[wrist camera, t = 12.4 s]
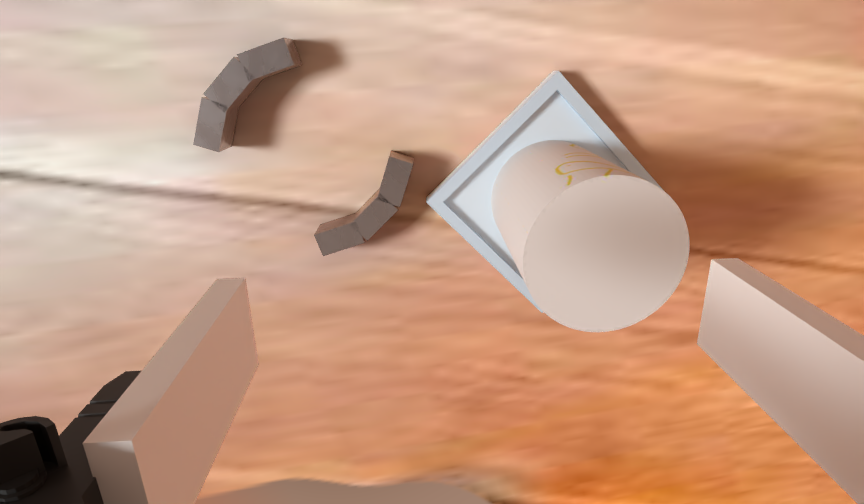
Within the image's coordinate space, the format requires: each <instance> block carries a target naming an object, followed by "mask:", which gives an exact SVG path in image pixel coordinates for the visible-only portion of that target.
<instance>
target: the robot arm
mask: <svg viewBox="0 0 864 504" xmlns="http://www.w3.org/2000/svg"><path fill="white" fill-rule="evenodd" d="M697 345H698V346H700V347H701V348H702V349H703V350H704V351H705V352H706V353H707V354H708V355H709V356H710V357H711V358H712V359H713V360H714V361H715V362H716V363H717V364H718V365H719V366H720V367H721V368H722V369H723V370H724V371H725V372H726V373H727V374H728V375H729V376H730V377H731V378H732V379H733V380H734V381H735V382H736V383H737V384H738V385H739V386H740V387H741V388H742V389H743V390H744V391H745V392H746V393H747V394H748V395H749V396H750V397H751V398H752V399H753V400H754V401H755V402H756V403H757V404H758V405H759V406H760V407H761V408H762V409H763V410H764V411H765V412H766V413H767V414H768V415H769V416H770V417H771V418H772V419H773V420H774V421H775V422H776V423H777V424H778V425H779V426H780V427H781V428H782V429H783V430H784V431H785V432H786V433H787V434H788V435H789V436H790V437H791V438H792V439H793V440H794V441H795V442H796V443H797V444H798V445H799V446H800V447H801V448H802V449H803V450H804V451H805V452H806V453H807V454H808V455H809V456H810V457H811V458H812V459H813V460H814V461H815V462H816V463H817V464H818V465H819V466H820V467H821V468H822V469H823V470H824V471H825V472H826V473H827V474H828V475H829V476H830V477H831V478H832V479H833V480H834V481H835V482H836V483H837V484H838V485H839V486H840V487H841V488H842V489H843V490H844V491H845V492H846V493H847V494H848V495H849V496H850V497H851V498H852V499H853V500H855V501H856V502H857V503H858V504H864V336H863V335H862V334H860V333H858V332H857V331H855V330H854V329H852V328H850V327H849V326H847V325H845V324H844V323H842V322H841V321H839V320H837V319H836V318H834V317H832V316H831V315H829V314H828V313H826V312H824V311H823V310H821V309H819V308H818V307H816V306H815V305H813V304H811V303H810V302H808V301H807V300H805V299H803V298H802V297H800V296H798V295H797V294H795V293H794V292H792V291H790V290H789V289H787V288H785V287H784V286H782V285H781V284H779V283H777V282H776V281H774V280H772V279H771V278H769V277H768V276H766V275H764V274H763V273H761V272H759V271H758V270H756V269H755V268H753V267H751V266H750V265H748V264H746V263H745V262H743V261H742V260H740V259H738V258H728V259H711V265H710V271H709V277H708V282H707V288H706V294H705V300H704V306H703V312H702V318H701V323H700V329H699V335H698V341H697ZM258 365H259V362H258V356H257V350H256V343H255V337H254V330H253V324H252V317H251V311H250V305H249V298H248V292H247V285H246V279H245V278H224V279H217V280H216V281H215V282H214V283H213V284H212V286H211V287H210V288H209V289H208V291H207V292H206V293H205V294H204V295H203V297H202V298H201V299H200V300H199V302H198V303H197V304H196V305H195V306H194V308H193V309H192V310H191V311H190V312H189V314H188V315H187V316H186V317H185V319H184V320H183V321H182V322H181V323H180V325H179V326H178V327H177V328H176V330H175V331H174V332H173V333H172V334H171V336H170V337H169V338H168V339H167V341H166V342H165V343H164V344H163V345H162V347H161V348H160V349H159V350H158V352H157V353H156V354H155V355H154V356H153V358H152V359H151V360H150V361H149V363H148V364H147V365H146V366H145V367H144V369H143V370H142V371H127V372H124V373H123V374H121V375H120V376H118V377H117V378H115V379H114V380H112V381H110V382H109V383H107V384H106V385H104V386H103V387H102V389H101V390H100V391H99V392H98V393H97V394H96V395H95V396H94V398H93V399H92V400H91V401H90V404H87V405H86V406H85V408H84V409H83V410H82V411H81V412H80V413H79V414H78V415H79V416H78V418H75V419H74V420H73V421H72V422H71V423H70V424H69V425H68V427H67V428H66V429H65V430H64V431H63V432H62V433H61V434H60V436H59V435H58V432H57V429H56V426H55V424H54V423H53V422H52V421H51V420H50V419H49V418H44V417H37V416H32V417H24V418H17V419H13V420H10V421H6V422H3V423H0V504H194V503H195V501H196V499H197V497H198V495H199V493H200V490H201V488H202V486H203V484H204V482H205V480H206V477H207V475H208V473H209V471H210V469H211V467H212V464H213V462H214V460H215V458H216V456H217V454H218V451H219V449H220V447H221V445H222V443H223V441H224V438H225V436H226V434H227V432H228V430H229V428H230V425H231V423H232V421H233V419H234V417H235V415H236V412H237V410H238V408H239V406H240V404H241V402H242V399H243V397H244V395H245V393H246V391H247V389H248V386H249V384H250V382H251V380H252V378H253V376H254V373H255V371H256V369H257V367H258Z"/></svg>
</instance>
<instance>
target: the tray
mask: <svg viewBox="0 0 864 504" xmlns="http://www.w3.org/2000/svg"><path fill="white" fill-rule="evenodd" d="M547 140H561V141H567V142H570V143H573V144H576V145H578V146H580V147H582V148H584V149H586V150H588V151H590V152H592V153H594V154H596V155H598V156H600V157H602V158H603V159H605V160H607V161H609V162H611V163H613V164H615V165H617V166H619V167H621V168H623V169H625V170H627V171H629V172H631V173H633V174H635V175H637V176H639V177H641V178H643V179H645V180H646V181H648V182H650V183H652V184H654V185H656V186H658V187H659V188H661V187H660V186H659V184H658V183H657V182H656V181H655V180H654V179H653V178H652V177H651V175H650V174H649V173H648V172H647V171H646V170H645V169H644V167H643V166H642V165H641V164H640V163H639V162H638V161H637V159H636V158H635V157H634V156H633V155H632V154H631V153H630V151H629V150H628V149H627V148H626V147H625V146H624V145H623V143H622V142H621V141H620V140H619V139H618V138H617V137H616V136H615V134H614V133H613V132H612V131H611V130H610V129H609V128H608V126H607V125H606V124H605V123H604V122H603V121H602V120H601V118H600V117H599V116H598V115H597V114H596V113H595V112H594V110H593V109H592V108H591V107H590V106H589V105H588V104H587V102H586V101H585V100H584V99H583V98H582V97H581V96H580V95H579V93H578V92H577V91H576V90H575V89H574V88H573V87H572V85H571V84H570V83H569V82H568V81H567V80H566V79H565V77H564V76H563V75H562V74H561V73H560V72H559V71H553V72H552V73H551V74H550V75H549V76H548V77H547V78H546V79H545V80H544V81H543V82H542V83H541V84H540V85H539V86H538V87H537V88H536V89H535V90H534V91H533V92H532V93H531V94H530V95H529V96H528V97H527V98H526V99H525V100H524V101H523V102H522V103H521V104H520V105H519V106H518V107H517V108H516V109H515V110H514V111H513V112H512V113H511V114H510V115H509V116H508V117H507V118H506V119H505V120H504V121H503V122H502V123H501V124H500V125H499V126H498V127H497V128H496V129H495V130H494V131H493V132H492V133H491V134H490V135H489V136H487V137H486V138H485V139H484V140H483V141H482V142H481V143H480V144H479V145H478V146H477V147H476V148H475V149H474V150H473V151H472V152H471V153H470V154H469V155H468V156H467V157H466V158H465V159H464V160H463V161H462V162H461V163H460V164H459V165H458V166H457V167H456V168H455V169H454V170H453V171H452V172H451V173H450V174H449V175H448V176H447V177H446V178H445V179H444V180H443V181H442V182H441V183H440V184H439V185H438V186H437V187H436V188H435V189H434V190H433V191H432V192H431V193H430V194H429V195H428V196H427V197H426V203H427V204H428V205H430V206H431V207H432V208H433V209H434V210H435V211H436V212H437V213H438V214H439V215H440V216H441V217H442V218H443V219H444V220H445V221H446V222H447V223H448V224H449V225H450V226H452V227H453V228H454V229H455V230H456V231H457V232H458V233H459V234H460V235H461V236H462V237H463V238H464V239H465V240H466V241H467V242H468V243H469V244H470V245H471V246H472V247H474V248H475V249H476V250H477V251H478V252H479V253H480V254H481V255H482V256H483V257H484V258H485V259H486V260H487V261H488V262H489V263H490V264H491V265H492V266H493V267H494V268H496V269H497V270H498V271H499V272H500V273H501V274H502V275H503V276H504V277H505V278H506V279H507V280H508V281H509V282H510V283H511V284H512V285H513V286H514V287H515V288H516V289H518V290H519V291H520V292H521V293H522V294H523V295H524V296H525V297H526V298H527V299H528V300H529V301H530V302H531V303H532V304H533V305H534V306H535V307H536V308H537V309H538V310H540V311H541V312H542V313H543V311H542V310H541V309H540V307H539V306H538V305H537V304H536V302H535V301H534V299H533V298H532V296H531V294H530V292H529V290H528V288H527V286H526V284H525V282H524V280H523V278H522V276H521V274H520V272H519V270H518V268H517V266H516V264H515V262H514V260H513V258H512V256H511V253H510V251H509V249H508V247H507V245H506V243H505V241H504V239H503V237H502V235H501V233H500V231H499V229H498V227H497V225H496V223H495V220H494V217H493V214H492V208H491V195H492V189H493V185H494V182H495V179H496V177H497V175H498V173H499V171H500V170H501V168H502V167H503V165H504V164H505V163H506V162H507V161H508V160H509V159H510V158H511V157H512V156H513V155H514V154H515V153H517V152H518V151H520V150H521V149H523V148H525V147H526V146H529V145H531V144H534V143H537V142H541V141H547ZM661 189H662V188H661ZM662 190H663V189H662ZM663 191H664V190H663Z"/></svg>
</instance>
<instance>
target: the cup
mask: <svg viewBox="0 0 864 504" xmlns="http://www.w3.org/2000/svg"><path fill="white" fill-rule="evenodd" d="M491 208H492V214H493V217H494V220H495V223H496V225H497V227H498V229H499V231H500V233H501V235H502V237H503V239H504V241H505V243H506V245H507V247H508V249H509V251H510V253H511V256H512V258H513V260H514V262H515V264H516V266H517V268H518V270H519V272H520V274H521V276H522V278H523V280H524V282H525V284H526V286H527V288H528V290H529V292H530V294H531V296H532V298H533V299H534V301H535V302H536V304H537V305H538V306H539V307H540V309H541V310H542V311H543V312H544V313H546V314H547V315H548V316H549V317H550V318H552V319H553V320H555V321H556V322H558V323H560V324H562V325H564V326H567V327H569V328H572V329H576V330H580V331H586V332H607V331H613V330H618V329H622V328H625V327H628V326H631V325H633V324H635V323H637V322H639V321H641V320H643V319H645V318H646V317H648V316H649V315H651V314H652V313H654V312H655V311H656V310H657V309H659V308H660V307H661V306H662V305H663V304H664V303H665V302H666V301H667V300H668V299H669V297H670V296H671V295H672V294H673V292H674V291H675V289H676V288H677V286H678V284H679V283H680V281H681V279H682V276H683V274H684V272H685V269H686V265H687V262H688V257H689V245H690V243H689V232H688V228H687V224H686V221H685V218H684V216H683V214H682V212H681V210H680V208H679V207H678V205H677V204H676V203H675V201H674V200H673V199H672V198H671V197H670V196H669V195H668V194H667V193H666V192H665V191H663V190H662V189H661V188H659V187H658V186H656V185H654V184H652V183H650V182H648V181H646V180H645V179H643V178H641V177H639V176H637V175H635V174H633V173H631V172H629V171H627V170H625V169H623V168H621V167H619V166H617V165H615V164H613V163H611V162H609V161H607V160H605V159H603V158H602V157H600V156H598V155H596V154H594V153H592V152H590V151H588V150H586V149H584V148H582V147H580V146H578V145H576V144H573V143H570V142H567V141H561V140H547V141H541V142H537V143H534V144H531V145H529V146H526V147H525V148H523V149H521V150H520V151H518V152H517V153H515V154H514V155H513V156H512V157H511V158H510V159H509V160H508V161H507V162H506V163H505V164H504V165H503V167H502V168H501V170H500V171H499V173H498V175H497V177H496V179H495V182H494V185H493V189H492V195H491Z"/></svg>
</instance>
